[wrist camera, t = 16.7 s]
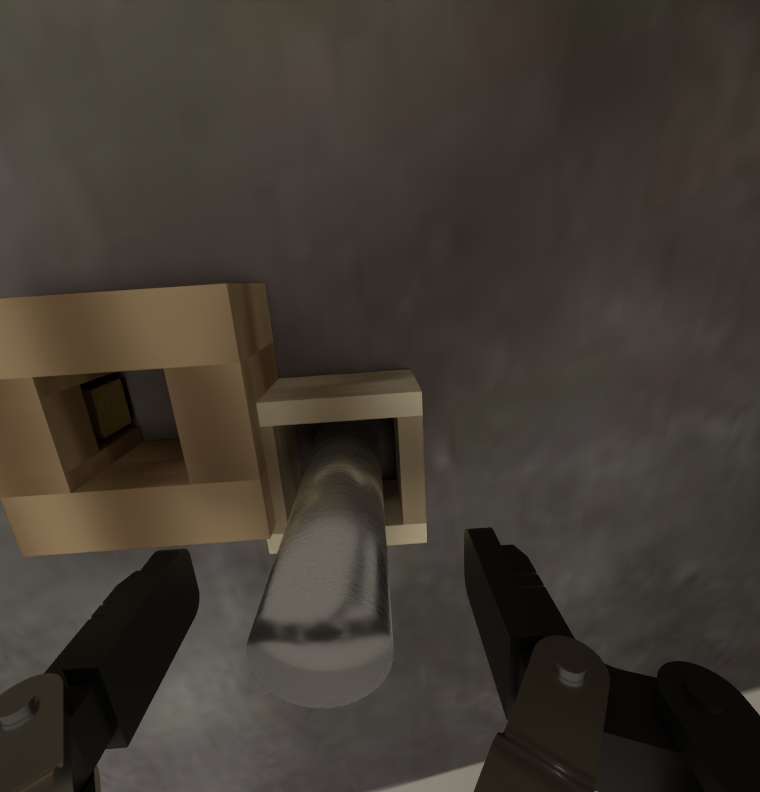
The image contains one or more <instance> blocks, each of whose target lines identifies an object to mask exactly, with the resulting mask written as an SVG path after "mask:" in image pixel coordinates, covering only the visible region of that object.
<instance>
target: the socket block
mask: <svg viewBox="0 0 760 792" xmlns="http://www.w3.org/2000/svg"><path fill="white" fill-rule="evenodd" d="M161 368H163V369H164V373H165V378H166V382H167V386H168V391H169V395H170V399H171V404H172V408H173V412H174V417H175V421H176V425H177V430H178V434H179V438H180V439H170V440H156V441H143V438H142V434H141V430H140V427H128V428H121V429H119V430H118V431H116V432H114V433H113V434H111V435H109V436H108V437H106V438H99V439H96V438H95V435H94V431H93V428H92V425H91V421H90V418H89V415H88V411H87V408H86V405H85V401H84V398H83V394H82V391H81V388H80V384H83V383H85V382H88V381H91V380H94V379H97V378H99V377H102V376H105V375H108V374H111V373H113V372H117V371H131V370H146V369H161ZM278 379H279V375H278V368H277V361H276V354H275V347H274V340H273V334H272V327H271V320H270V313H269V306H268V299H267V292H266V285H265V283H225V284H210V285H195V286H180V287H165V288H150V289H136V290H121V291H106V292H91V293H76V294H61V295H46V296H31V297H16V298H1V299H0V499H1V502H2V504H3V507H4V509H5V512H6V514H7V517H8V519H9V522H10V524H11V527H12V529H13V532H14V535H15V537H16V540H17V542H18V545H19V547H20V550H21V552H22V555H23V557H27V556H41V555H55V554H68V553H82V552H96V551H110V550H124V549H138V548H152V547H165V546H179V545H193V544H207V543H221V542H235V541H248V540H262V539H270V538H271V536H272V533H273V530H274V528H275V525H276V521H275V515H274V509H273V503H272V497H271V491H270V485H269V479H268V473H267V467H266V461H265V454H264V448H263V442H262V436H261V430H260V424H259V418H258V412H257V406H256V402H257V401H258V400H259V399H260V398H261V397H262V396H263V395H264V394H265V393H266V392H267V391H268V390H269V388H270V387H271V386H272V385H273V384H274V383H275V382H276V381H277V380H278Z"/></svg>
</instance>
